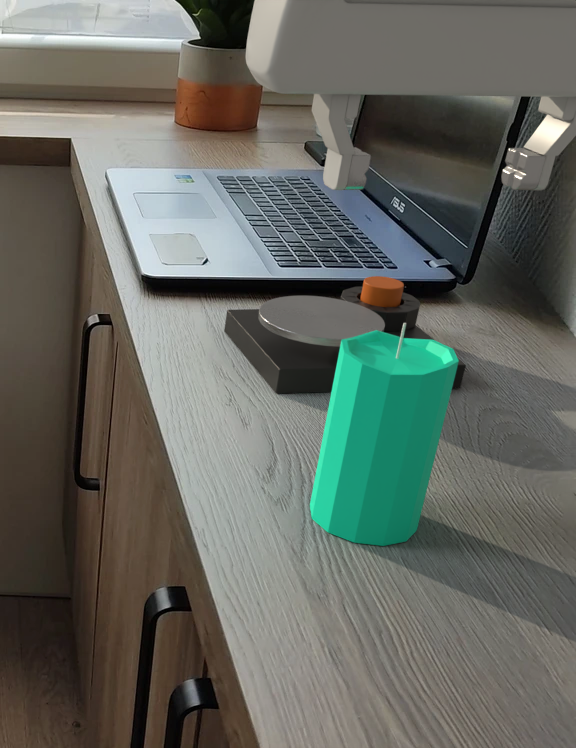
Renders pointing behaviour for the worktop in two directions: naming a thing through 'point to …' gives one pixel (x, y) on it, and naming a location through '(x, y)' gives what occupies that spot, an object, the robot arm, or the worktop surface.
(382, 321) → the weighing pan
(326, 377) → the scale
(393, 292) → the tare button
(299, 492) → the worktop surface
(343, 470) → the candle
